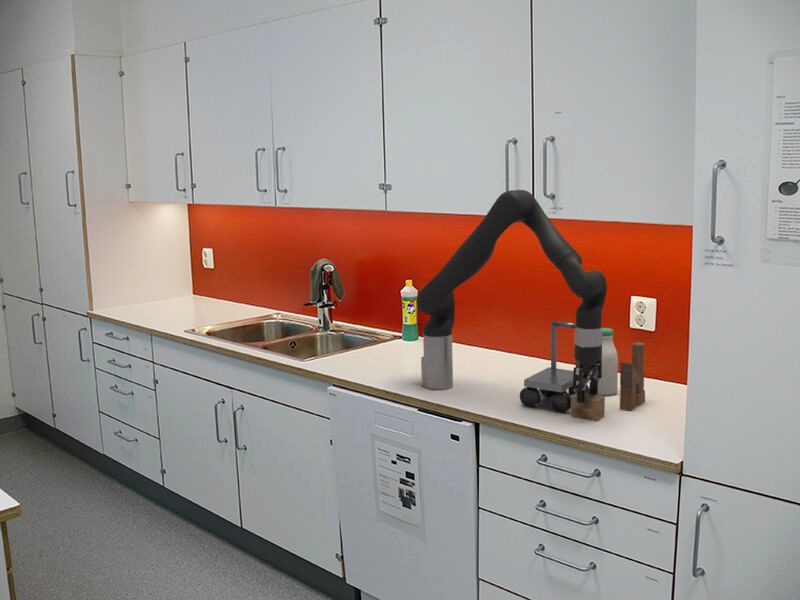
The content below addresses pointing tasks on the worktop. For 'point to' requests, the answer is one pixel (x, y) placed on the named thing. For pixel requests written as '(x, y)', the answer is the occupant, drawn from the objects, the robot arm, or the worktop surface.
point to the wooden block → (633, 379)
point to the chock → (588, 407)
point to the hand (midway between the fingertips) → (587, 398)
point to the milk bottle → (608, 365)
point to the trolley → (551, 380)
